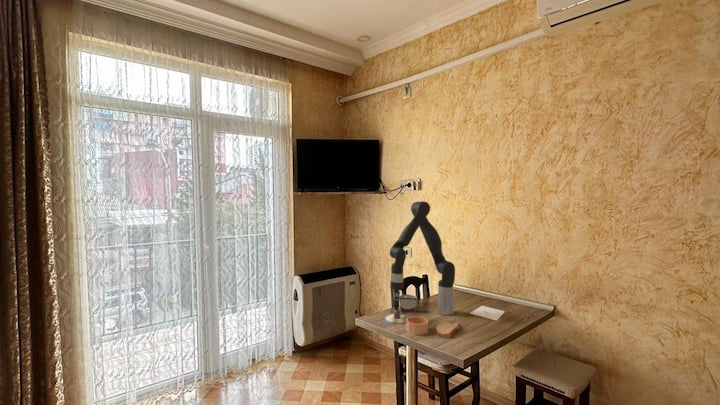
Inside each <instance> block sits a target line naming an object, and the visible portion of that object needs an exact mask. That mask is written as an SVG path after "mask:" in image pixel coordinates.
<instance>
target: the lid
mask: <svg viewBox="0 0 720 405" xmlns="http://www.w3.org/2000/svg"><path fill="white" fill-rule="evenodd" d="M405 315H406V314H402V313H401V312H400V309H398V310H395V309H394V310H393V313H389V315H387V316H386V317H385V316H384V317H385V320H386V321H388V322H390V323H396V324H395V325H402V324H401V323H406V318H408V317H407V316H405Z"/></svg>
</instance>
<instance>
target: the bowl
mask: <svg viewBox="0 0 720 405" xmlns="http://www.w3.org/2000/svg"><path fill="white" fill-rule="evenodd" d="M405 331H406V332H407V333H409V334H412V335H415V336H417V337H419V336H421V335H426V334H428V333H429V320H428V319H427V318H426V317H423V316H419V315H417V316H416V315H415V316H413V315H412V316H409V317H408V318H406V324H405Z"/></svg>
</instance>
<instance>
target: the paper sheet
mask: <svg viewBox="0 0 720 405" xmlns="http://www.w3.org/2000/svg"><path fill="white" fill-rule="evenodd" d="M505 312H506V311H505V310H501V309H497V308H493V307H490V306H485V305H481V306H478V307H477V308H475V309H474V310H473V311H471V312H470V313H469V314H470V315H474V316H478V317H482V318H485V319H490V320H493V321H498V320H499V319H500V317H501V316H502V315H503V314H504V313H505Z"/></svg>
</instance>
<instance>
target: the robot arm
mask: <svg viewBox="0 0 720 405" xmlns="http://www.w3.org/2000/svg"><path fill="white" fill-rule="evenodd" d="M410 211H411V214H412V215H413V218H412V219H411V221H410V222H409V223H408V224H407V225H406V226H405V227H404V229H403V230H402V232H401V233H400V235H399V237H398V239H397V240H396V241H395V242H394V243H393V245H392V246H391V247H390V250H389V257H391V258H392V259H394V262H393V263H392V264H391V265H390V266H391V268H390V269H391V270H390V271H391V274H390V288H391V289H392V290H393V291H392V292H393V300H394V301H393V303H394V307H393V308H394V310H399V305H400V302H399V299H400V296H401V290H403V289H404V265H405V262H406V256H407V254H406V253H407V252H406V250H405V247H408V246H409V245H410V244H411V241H412V240H413V238H414V235H415V233H416V232H417V230H418V229H420V231H421V234H422V236H423V239H424V241H425V243H426V245H427V247H428V250H429V253H430V254H431V257H432V259H433V262H434V265H435V269H436V271H437V272H438V273H439V274H440V275H441V279H439V281H438V284H437V285H438V286H437V290H438V292H437V295H438V297H437V299H438V300H437V302H438V303H437V306H438V307H437V308H438V309H437V311H438V312H437V313H438V314H440V315H444V316H451V315H454V314H455V313H454V309H455V307H454V306H455V305H454V304H455V303H454V284H455V281H456V280H455V278H456V267H455V265H454V263H453V262H451V261H449V260H447V259H446V258H445V256H444V253H443V250H442V249H443V247H442V239H441V237H440V234H439V232H438V230H437V229H436V227H434V226H433V224H432V223H431V222H430V220H428V217H427V216H428V215H429V214H430V211H431V205H430V204H429V203H428V202H427V201H415V202H413V203H411V207H410Z"/></svg>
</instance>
